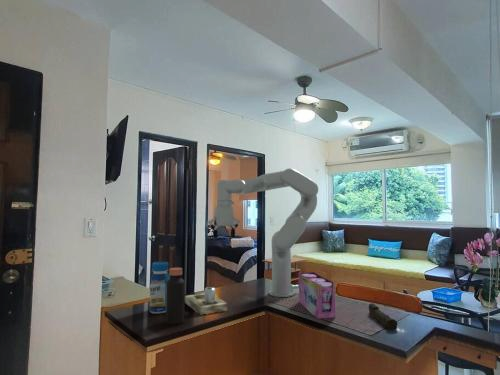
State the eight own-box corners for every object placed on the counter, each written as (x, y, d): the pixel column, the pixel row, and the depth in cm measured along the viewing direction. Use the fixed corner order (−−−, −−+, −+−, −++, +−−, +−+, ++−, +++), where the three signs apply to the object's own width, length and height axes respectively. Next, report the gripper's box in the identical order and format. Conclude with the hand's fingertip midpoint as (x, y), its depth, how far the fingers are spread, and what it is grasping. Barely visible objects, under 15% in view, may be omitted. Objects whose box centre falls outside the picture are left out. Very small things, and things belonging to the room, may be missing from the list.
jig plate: (209, 298, 152) (209, 292, 152) (227, 310, 134) (227, 303, 134) (184, 302, 146) (184, 295, 146) (200, 315, 128) (200, 307, 128)
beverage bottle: (173, 310, 134) (174, 262, 136) (155, 315, 128) (156, 265, 129) (162, 306, 140) (163, 260, 141) (145, 311, 134) (146, 262, 135)
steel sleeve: (212, 307, 139) (212, 286, 139) (216, 310, 135) (216, 288, 135) (202, 309, 136) (203, 287, 137) (206, 312, 133) (207, 289, 133)
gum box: (337, 319, 124) (337, 283, 125) (318, 320, 123) (318, 284, 124) (314, 301, 148) (314, 271, 149) (298, 302, 147) (298, 272, 147)
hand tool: (398, 331, 113) (397, 317, 113) (386, 331, 113) (386, 317, 113) (376, 313, 132) (376, 302, 132) (366, 313, 131) (366, 302, 132)
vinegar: (164, 320, 123) (165, 267, 124) (182, 317, 126) (182, 266, 127) (167, 326, 117) (168, 270, 118) (185, 323, 119) (186, 269, 121)
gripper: (235, 204, 171) (235, 236, 170) (205, 203, 163) (205, 237, 162) (242, 204, 165) (242, 237, 164) (211, 203, 156) (211, 238, 155)
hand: (224, 237), depth 163 cm, fingers open, 9 cm apart
